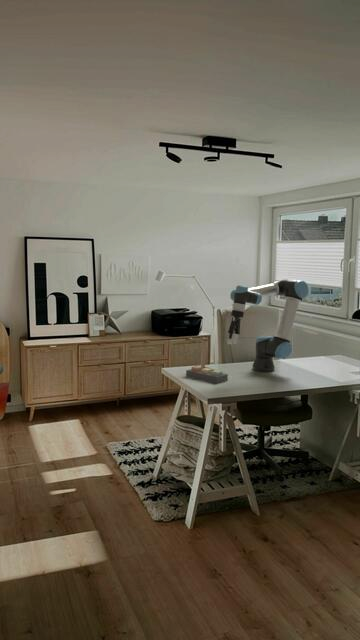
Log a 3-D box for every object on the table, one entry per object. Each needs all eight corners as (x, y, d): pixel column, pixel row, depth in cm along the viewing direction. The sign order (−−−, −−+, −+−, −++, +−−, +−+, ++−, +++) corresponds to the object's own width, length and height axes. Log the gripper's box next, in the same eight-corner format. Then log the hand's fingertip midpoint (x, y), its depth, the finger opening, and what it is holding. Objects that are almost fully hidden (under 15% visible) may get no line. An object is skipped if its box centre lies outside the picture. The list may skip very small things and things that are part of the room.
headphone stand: (201, 373, 349) (202, 340, 346) (194, 369, 359) (195, 337, 356) (215, 372, 353) (216, 339, 350) (208, 368, 363) (209, 337, 360)
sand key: (206, 372, 338) (206, 367, 338) (212, 373, 335) (212, 369, 335) (201, 373, 335) (201, 369, 334) (207, 375, 331) (207, 370, 331)
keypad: (186, 376, 339) (186, 370, 339) (197, 373, 347) (197, 367, 347) (216, 383, 323) (217, 377, 322) (227, 380, 331) (227, 374, 330)
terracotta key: (196, 370, 344) (196, 365, 343) (202, 371, 340) (202, 367, 340) (191, 371, 340) (191, 367, 339) (197, 372, 337) (197, 368, 336)
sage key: (215, 374, 333) (216, 369, 333) (222, 375, 330) (222, 371, 329) (211, 375, 329) (211, 371, 329) (217, 377, 326) (217, 372, 326)
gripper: (236, 310, 340) (230, 342, 340) (227, 308, 316) (221, 343, 317) (247, 312, 337) (242, 345, 338) (239, 310, 314) (233, 345, 314)
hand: (231, 344), depth 327 cm, fingers open, 13 cm apart
